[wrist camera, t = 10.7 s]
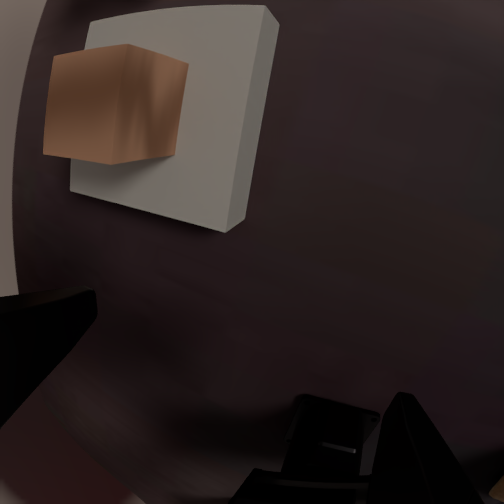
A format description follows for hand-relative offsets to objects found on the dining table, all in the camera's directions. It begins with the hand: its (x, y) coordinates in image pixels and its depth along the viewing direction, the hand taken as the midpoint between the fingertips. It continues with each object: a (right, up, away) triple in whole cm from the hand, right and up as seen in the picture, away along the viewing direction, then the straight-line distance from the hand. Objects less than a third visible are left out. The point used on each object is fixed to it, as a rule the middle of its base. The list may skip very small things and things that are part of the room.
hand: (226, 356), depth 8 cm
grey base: (-4, +12, +10) cm, 16 cm away
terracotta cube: (-5, +11, +8) cm, 14 cm away
